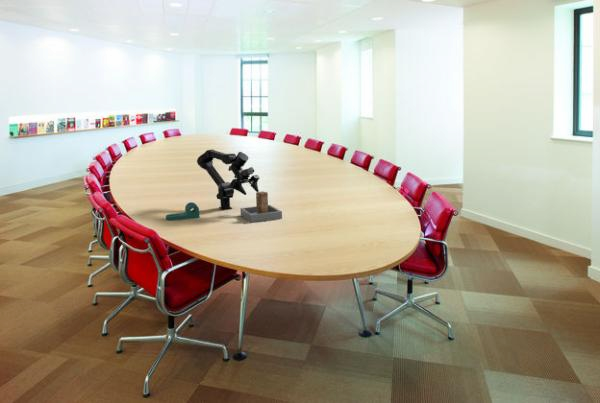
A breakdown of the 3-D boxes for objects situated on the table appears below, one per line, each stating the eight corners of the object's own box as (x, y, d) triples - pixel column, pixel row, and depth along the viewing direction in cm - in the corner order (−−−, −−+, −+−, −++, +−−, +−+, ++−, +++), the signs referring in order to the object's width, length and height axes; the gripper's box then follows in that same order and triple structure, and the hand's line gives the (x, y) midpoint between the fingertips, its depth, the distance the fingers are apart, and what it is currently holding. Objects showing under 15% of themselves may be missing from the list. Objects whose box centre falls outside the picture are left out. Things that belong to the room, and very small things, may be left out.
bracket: (197, 215, 276) (196, 201, 275) (199, 218, 270) (198, 204, 269) (165, 218, 270) (164, 204, 269) (166, 221, 264) (165, 207, 262)
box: (240, 215, 274) (240, 208, 273) (270, 211, 282) (269, 204, 281) (251, 222, 258) (250, 215, 258) (282, 218, 266) (281, 211, 265)
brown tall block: (256, 215, 269) (256, 192, 266) (262, 213, 272) (261, 191, 269) (262, 216, 266) (261, 193, 263) (268, 215, 269) (267, 192, 266)
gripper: (231, 164, 265) (245, 187, 260) (256, 161, 278) (270, 182, 274) (223, 177, 272) (237, 199, 267) (248, 173, 285) (261, 193, 281)
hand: (252, 193), depth 272 cm, fingers open, 9 cm apart
